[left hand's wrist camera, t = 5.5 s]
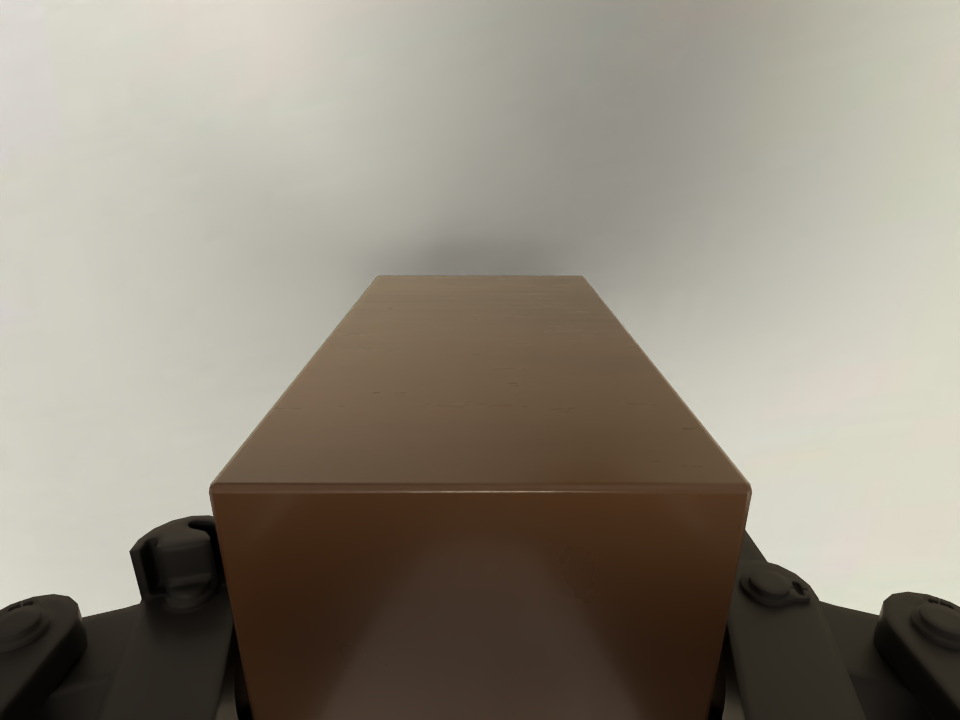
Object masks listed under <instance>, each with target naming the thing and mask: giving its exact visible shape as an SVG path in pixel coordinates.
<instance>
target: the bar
mask: <svg viewBox="0 0 960 720" xmlns="http://www.w3.org/2000/svg"><path fill="white" fill-rule="evenodd" d="M751 495H752V489H751V486H750V483H749V482H748V481H747V480H746V478H745V477H744V476H743V475H742V473H741V472H740V471H739V470H738V469H737V467H736V466H735V465H734V464H733V462H732V461H731V460H730V459H729V457H728V456H727V455H726V454H725V452H724V451H723V450H722V449H721V447H720V446H719V445H718V444H717V442H716V441H715V440H714V439H713V437H712V436H711V435H710V434H709V432H708V431H707V430H706V429H705V427H704V426H703V425H702V424H701V422H700V421H699V420H698V419H697V417H696V416H695V415H694V414H693V413H692V411H691V410H690V409H689V408H688V406H687V405H686V404H685V403H684V401H683V400H682V399H681V398H680V396H679V395H678V394H677V393H676V391H675V390H674V389H673V388H672V386H671V385H670V384H669V383H668V381H667V380H666V379H665V378H664V376H663V375H662V374H661V373H660V371H659V370H658V369H657V368H656V366H655V365H654V364H653V363H652V361H651V360H650V359H649V358H648V356H647V355H646V354H645V353H644V352H643V350H642V349H641V348H640V347H639V345H638V344H637V343H636V342H635V340H634V339H633V338H632V337H631V335H630V334H629V333H628V332H627V330H626V329H625V328H624V327H623V325H622V324H621V323H620V322H619V320H618V319H617V318H616V317H615V315H614V314H613V313H612V312H611V310H610V309H609V308H608V307H607V305H606V304H605V303H604V302H603V300H602V299H601V298H600V297H599V295H598V294H597V293H596V292H595V291H594V289H593V288H592V287H591V286H590V284H589V283H588V282H587V281H586V279H585V278H584V277H583V276H377V277H376V278H375V280H374V281H373V282H372V283H371V285H370V286H369V287H368V288H367V290H366V291H365V292H364V293H363V295H362V296H361V297H360V298H359V300H358V301H357V302H356V303H355V305H354V306H353V307H352V308H351V310H350V311H349V312H348V313H347V315H346V316H345V317H344V318H343V320H342V321H341V322H340V323H339V325H338V326H337V327H336V328H335V330H334V331H333V332H332V333H331V335H330V336H329V337H328V338H327V340H326V341H325V342H324V343H323V345H322V346H321V347H320V348H319V350H318V351H317V352H316V353H315V355H314V356H313V357H312V358H311V360H310V361H309V362H308V363H307V365H306V366H305V367H304V368H303V370H302V371H301V372H300V373H299V375H298V376H297V377H296V378H295V380H294V381H293V382H292V383H291V385H290V386H289V387H288V388H287V390H286V391H285V392H284V393H283V395H282V396H281V397H280V398H279V400H278V401H277V402H276V403H275V405H274V406H273V407H272V408H271V410H270V411H269V412H268V413H267V415H266V416H265V417H264V418H263V420H262V421H261V422H260V423H259V425H258V426H257V427H256V428H255V430H254V431H253V432H252V433H251V435H250V436H249V437H248V438H247V440H246V441H245V442H244V443H243V445H242V446H241V447H240V448H239V450H238V451H237V452H236V453H235V455H234V456H233V457H232V458H231V460H230V461H229V462H228V463H227V465H226V466H225V467H224V468H223V470H222V471H221V472H220V473H219V475H218V476H217V477H216V478H215V480H214V481H213V482H212V483H211V485H210V489H209V496H210V501H211V506H212V511H213V516H214V521H215V527H216V532H217V537H218V542H219V547H220V553H221V558H222V563H223V568H224V573H225V578H226V584H227V589H228V594H229V599H230V604H231V610H232V615H233V620H234V625H235V630H236V635H237V641H238V646H239V651H240V656H241V661H242V667H243V672H244V677H245V682H246V687H247V692H248V698H249V703H250V708H251V713H252V718H253V720H708V717H709V712H710V706H711V701H712V696H713V691H714V686H715V681H716V676H717V670H718V665H719V660H720V655H721V650H722V645H723V639H724V634H725V629H726V624H727V619H728V614H729V608H730V603H731V598H732V593H733V588H734V583H735V578H736V572H737V567H738V562H739V557H740V552H741V547H742V541H743V536H744V531H745V526H746V521H747V516H748V511H749V505H750V500H751Z"/></svg>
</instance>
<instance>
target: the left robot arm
mask: <svg viewBox="0 0 960 720" xmlns="http://www.w3.org/2000/svg"><path fill="white" fill-rule="evenodd" d="M129 552H130V555H131V559H132V563H133V567H134V571H135V575H136V578H137V582H138V586H139V590H140V594H141V598H142V600H141V602H140V604H137V605H133V606H130V607H127V608H123V609H118V610H114V611H110V612H105V613H101V614H96V615H92V616H87V617H83V618H82V616H81V613H80V610H79V607H78V604H77V603H76V602H75V601H74V600H73V599H71V598H70V597H69V596H63V595H56V594H51V595H43V596H36V597H32V598H29V599H26V600H23V601H19V602H17V603H14V604H11V605H9V606H7V607H5V608H3V609H1V610H0V720H253V718H252V713H251V708H250V703H249V698H248V692H247V687H246V682H245V677H244V672H243V667H242V661H241V656H240V651H239V646H238V641H237V635H236V630H235V625H234V620H233V615H232V610H231V604H230V599H229V594H228V589H227V584H226V578H225V573H224V568H223V563H222V558H221V553H220V547H219V542H218V537H217V532H216V527H215V521H214V517H213V516H209V515H207V516H190V517H185V518H181V519H177V520H173V521H170V522H168V523H166V524H164V525H161V526H159V527H157V528H154V529H153V530H151V531H150V532H149V533H147V534H146V535H144V536H143V537H142V538H140V539H139V540H138V541H137V542H136V544H135V545H134V546H133V548H132V549H131V550H130V551H129ZM708 720H960V607H959V606H957V605H955V604H953V603H951V602H949V601H946V600H943V599H940V598H937V597H934V596H931V595H928V594H920V593H913V592H903V593H896V594H892V595H891V596H889V597H888V598H887V599H886V600H885V601H884V602H883V605H882V608H881V612H880V615H875V614H870V613H866V612H861V611H857V610H853V609H848V608H844V607H839V606H835V605H832V604H828V603H825V602H822V601H819V599H818V597H817V596H816V594H815V593H814V591H813V590H812V588H811V587H810V585H809V584H807V583H806V582H805V581H804V580H802V579H801V578H800V577H799V576H798V575H796V574H795V573H793V572H791V571H789V570H787V569H785V568H783V567H781V566H779V565H776V564H772V563H769V562H767V561H766V559H765V558H764V556H763V555H762V553H761V552H760V550H759V549H758V548H757V546H756V545H755V543H754V542H753V540H752V539H751V538H750V536H749V535H748V533H747V532H746V530H745V531H744V536H743V541H742V547H741V552H740V557H739V562H738V567H737V572H736V578H735V583H734V588H733V593H732V598H731V603H730V608H729V614H728V619H727V624H726V629H725V634H724V639H723V645H722V650H721V655H720V660H719V665H718V670H717V676H716V681H715V686H714V691H713V696H712V701H711V706H710V712H709V717H708Z"/></svg>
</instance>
